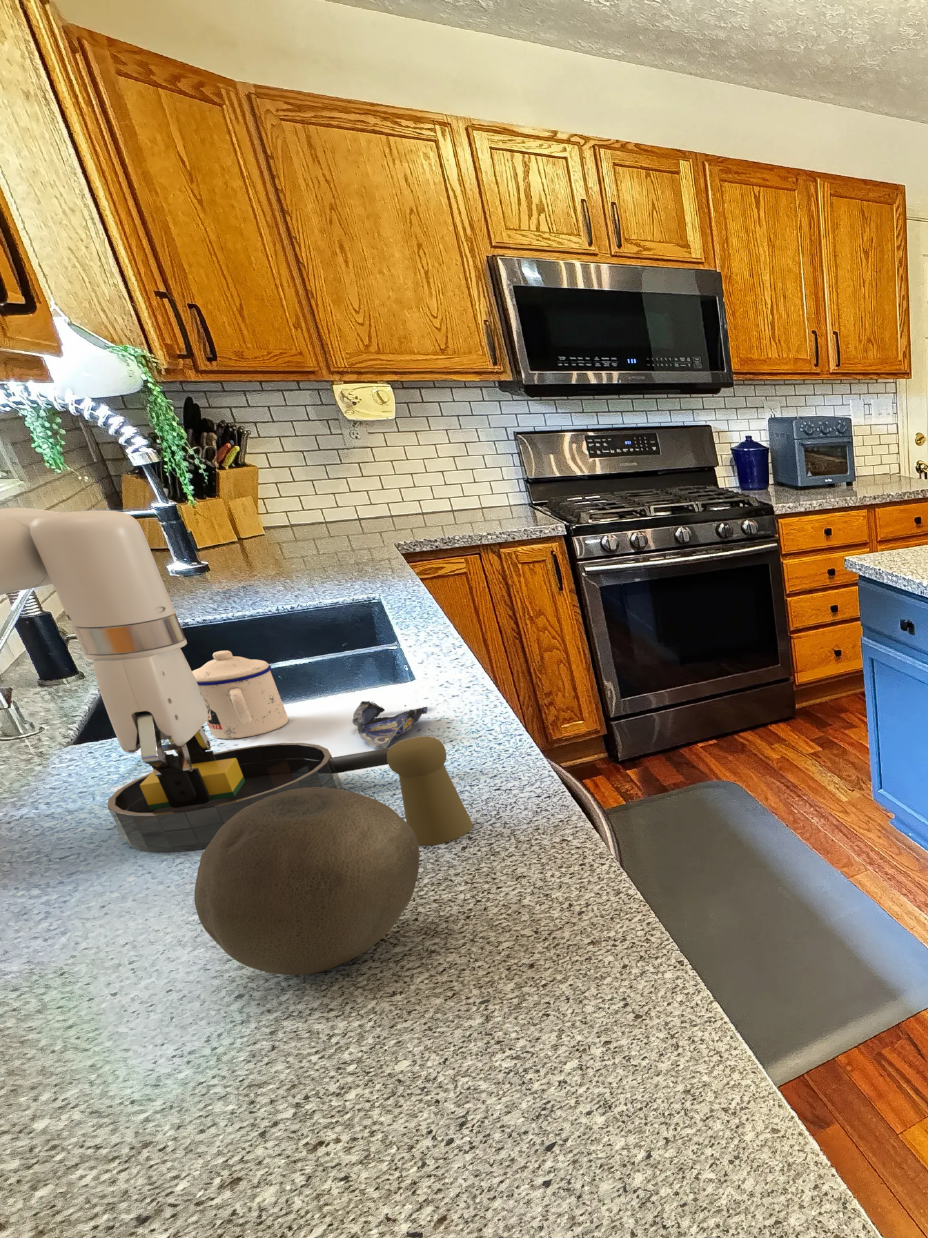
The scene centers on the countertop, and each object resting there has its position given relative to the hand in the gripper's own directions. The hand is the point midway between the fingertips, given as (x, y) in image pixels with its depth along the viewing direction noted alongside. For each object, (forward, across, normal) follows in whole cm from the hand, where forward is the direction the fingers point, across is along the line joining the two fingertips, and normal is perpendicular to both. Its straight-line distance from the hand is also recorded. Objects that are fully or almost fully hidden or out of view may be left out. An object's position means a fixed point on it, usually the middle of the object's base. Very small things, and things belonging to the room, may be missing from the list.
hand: (198, 793), depth 90 cm
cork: (+4, +15, +23) cm, 28 cm away
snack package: (+4, -22, +15) cm, 27 cm away
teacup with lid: (+4, -34, -3) cm, 34 cm away
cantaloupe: (+4, +36, +17) cm, 40 cm away
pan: (+4, -3, +2) cm, 5 cm away
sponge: (0, 0, 0) cm, 0 cm away
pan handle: (+1, -3, +17) cm, 17 cm away
